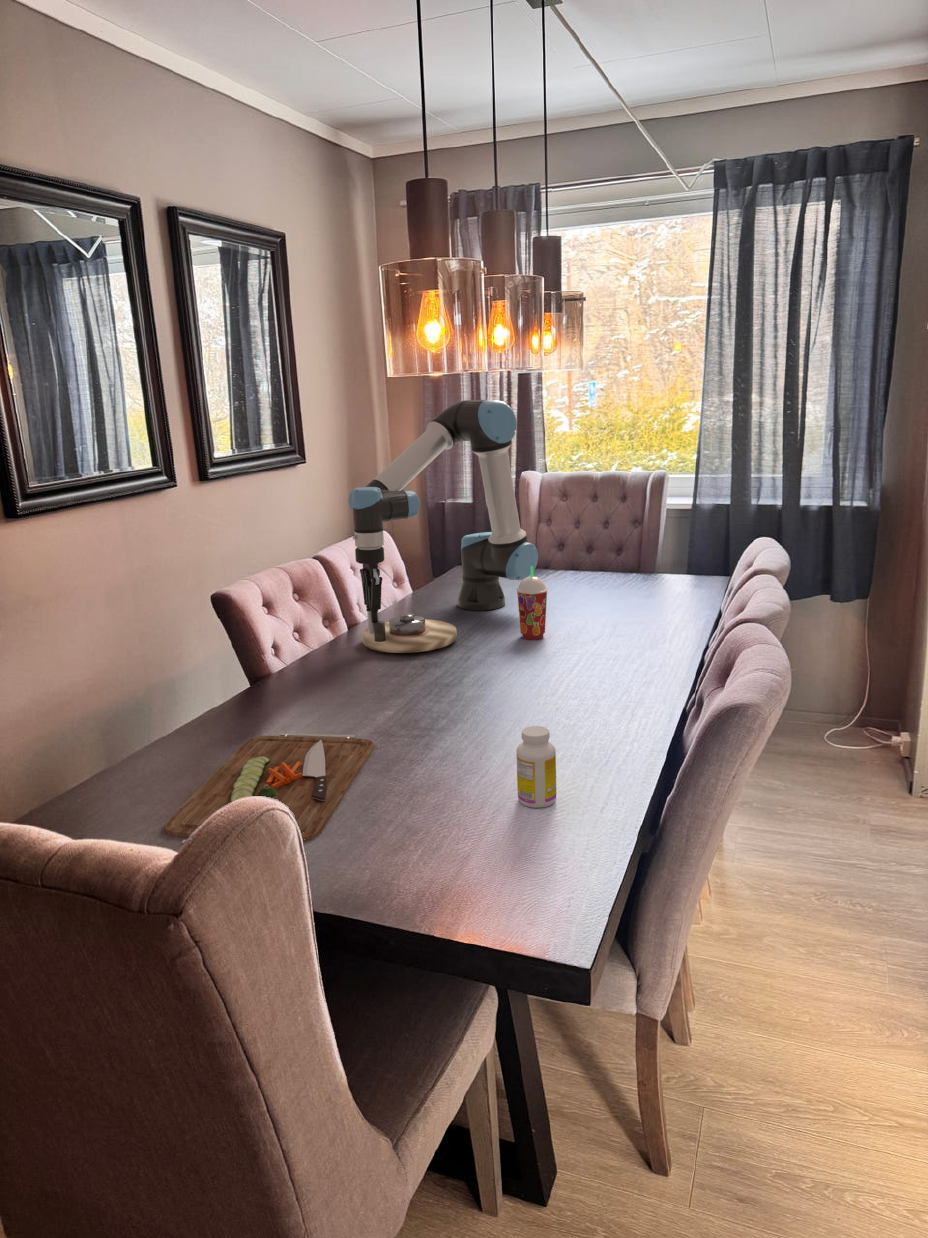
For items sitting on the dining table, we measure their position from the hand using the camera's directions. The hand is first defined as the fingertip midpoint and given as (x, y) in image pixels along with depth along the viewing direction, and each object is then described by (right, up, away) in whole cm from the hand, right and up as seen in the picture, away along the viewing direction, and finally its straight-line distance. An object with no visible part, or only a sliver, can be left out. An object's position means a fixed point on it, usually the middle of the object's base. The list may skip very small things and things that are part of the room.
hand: (373, 632), depth 240 cm
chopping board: (-10, -27, -77) cm, 82 cm away
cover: (+9, 0, +7) cm, 11 cm away
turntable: (+9, -2, +6) cm, 11 cm away
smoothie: (+43, -1, +8) cm, 44 cm away
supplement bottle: (+37, -28, -87) cm, 98 cm away
